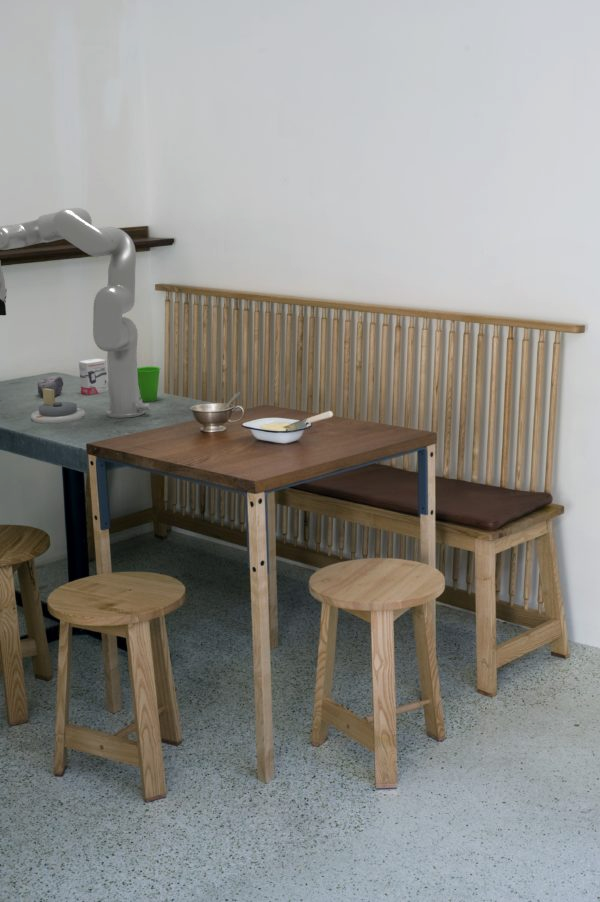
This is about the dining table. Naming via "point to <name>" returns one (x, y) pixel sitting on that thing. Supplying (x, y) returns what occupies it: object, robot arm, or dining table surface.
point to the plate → (58, 417)
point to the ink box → (93, 376)
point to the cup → (148, 382)
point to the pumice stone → (51, 385)
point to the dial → (55, 405)
